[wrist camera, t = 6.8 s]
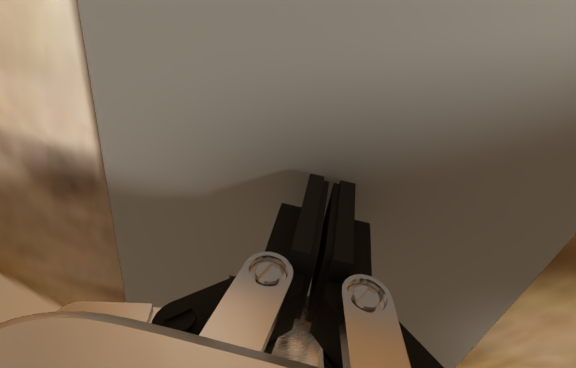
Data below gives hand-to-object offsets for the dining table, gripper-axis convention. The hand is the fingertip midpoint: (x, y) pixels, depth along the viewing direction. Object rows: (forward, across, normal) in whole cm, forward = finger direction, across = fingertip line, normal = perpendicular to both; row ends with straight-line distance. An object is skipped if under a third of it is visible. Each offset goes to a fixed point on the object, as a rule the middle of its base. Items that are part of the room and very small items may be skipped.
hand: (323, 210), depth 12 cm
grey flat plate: (+2, 0, +3) cm, 4 cm away
